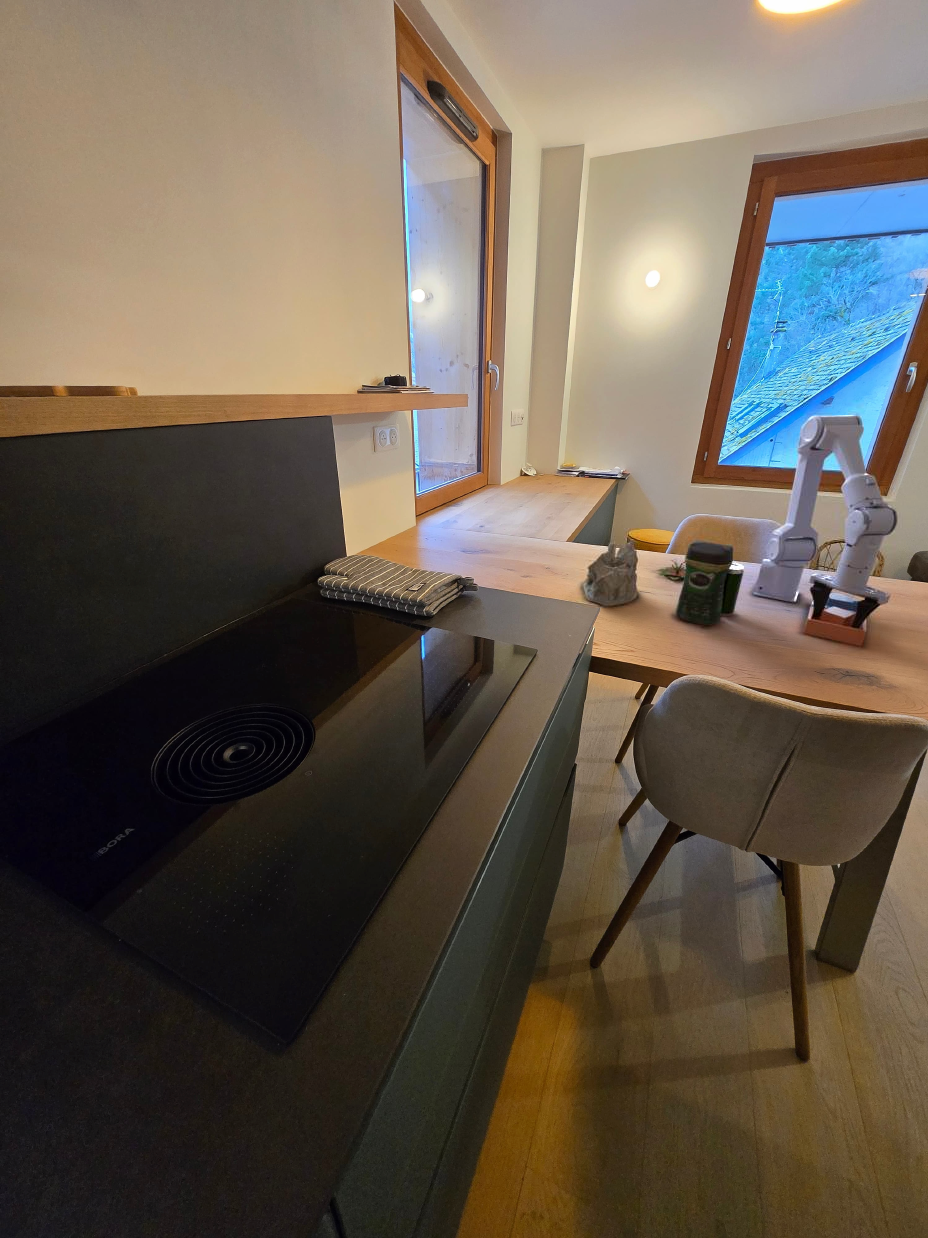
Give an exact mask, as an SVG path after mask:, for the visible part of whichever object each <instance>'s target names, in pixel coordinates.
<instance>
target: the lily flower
mask: <svg viewBox="0 0 928 1238" xmlns="http://www.w3.org/2000/svg"><path fill="white" fill-rule="evenodd" d="M674 560H675V561H674ZM674 560H673V559H671V560H670V561H671V562H673V563H674V564H671V566H668V567H664V568H660V569H655V571H657V572H660V574H659V577H661V576H667V575H668V577H669V578H670V579H671V580H672V581H674V580H678V579H682V578H683V579H684V578H685V572H686V565H685V560H684V561H683V562H681V563H680V561H679V562H678V561H677V559H676V558H674Z"/></svg>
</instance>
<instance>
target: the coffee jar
mask: <svg viewBox="0 0 928 1238" xmlns="http://www.w3.org/2000/svg"><path fill="white" fill-rule="evenodd" d="M733 560H734V547H733V545H727V544H721V543H715V542H709V541H702V540H695V541H693V542H691V543H690V544H689V546H688V547H687V551H686V555H685V556H684V561H685V563H684V566H686V567H685V569H686V572H685V578H684V577H683V583H682V587H681V590H680V594H679V597H678V600H677V603H676V604H677V605H676V607H675V616H676V618H678V619H680V620H682V621H686V622H690V623H694V624H697V625H701V626H711V625H715V624H717V623H718V622H719V621H720V620H721V617H722V616H721V610H722V600H723V590H724V582H725V578H726V574H727V571H728V570H729V568H730V567H731V565H732V563H734V562H733Z"/></svg>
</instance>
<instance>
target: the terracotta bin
mask: <svg viewBox="0 0 928 1238" xmlns="http://www.w3.org/2000/svg"><path fill="white" fill-rule="evenodd" d="M810 606H811V605H810ZM809 610H810V611H809ZM809 610H808V614H809V615H808V614H807V617H806V622H805V625H804V629H803V634H805V635H809V636H814V637H818V638H823V639H828V640H832V641H837V642H841V643H844V644H845V643H846V644H849V645H854V646H858V647H859V646H860V647H861V646H862V644H863V641H864V639H865V636H866V634H867V623H868V622H867V619H868V617H867V618H866V619H865V621H864V622H863V623H862V625H861V626H860V628H859V629H857V628H852V627H847V626H842V625H837V624H832V623H828V622H823V621H820V618H821V616H820V617H817V618H816V617H814V607H812V606H811V608H810V607H809ZM824 610H826V609H824ZM855 616H856V615H855ZM854 619H855V618H854ZM853 621H854V620H853Z"/></svg>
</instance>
